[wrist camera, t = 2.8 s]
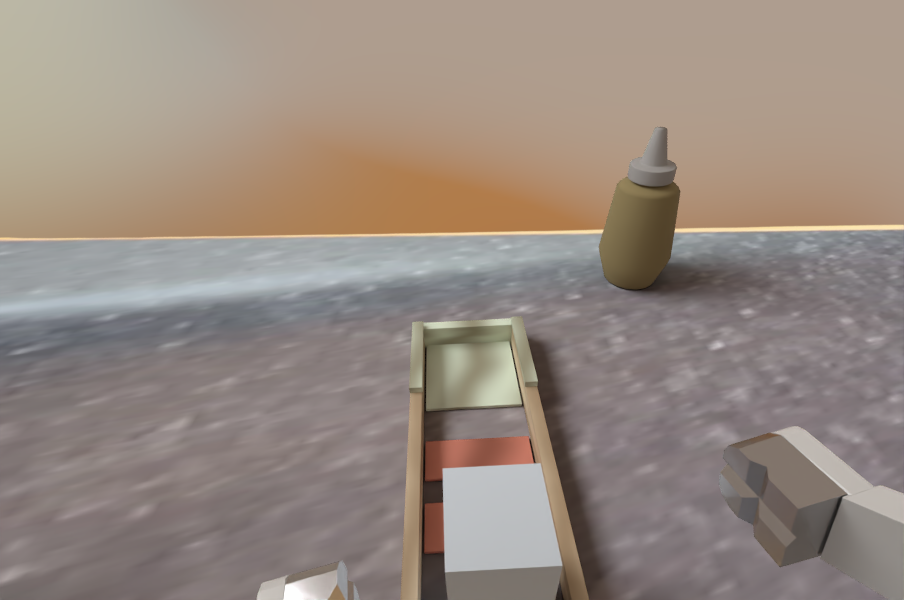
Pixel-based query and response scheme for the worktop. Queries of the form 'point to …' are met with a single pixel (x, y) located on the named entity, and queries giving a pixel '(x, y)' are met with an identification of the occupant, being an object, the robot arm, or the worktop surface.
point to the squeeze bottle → (641, 219)
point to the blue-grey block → (499, 534)
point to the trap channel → (471, 387)
